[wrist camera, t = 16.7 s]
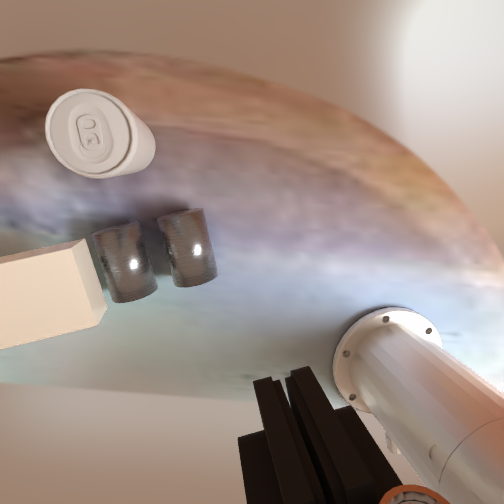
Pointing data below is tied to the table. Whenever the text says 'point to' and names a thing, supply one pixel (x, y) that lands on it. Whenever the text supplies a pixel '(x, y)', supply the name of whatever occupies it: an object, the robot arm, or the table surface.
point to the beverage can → (97, 135)
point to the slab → (48, 293)
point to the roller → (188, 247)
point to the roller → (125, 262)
